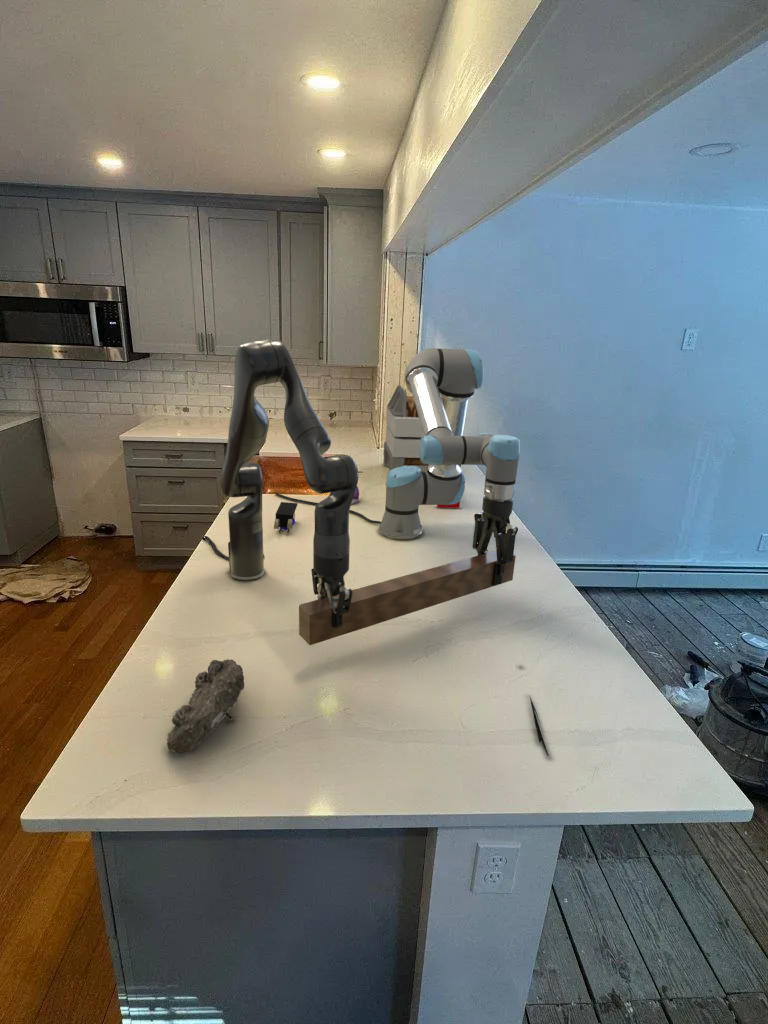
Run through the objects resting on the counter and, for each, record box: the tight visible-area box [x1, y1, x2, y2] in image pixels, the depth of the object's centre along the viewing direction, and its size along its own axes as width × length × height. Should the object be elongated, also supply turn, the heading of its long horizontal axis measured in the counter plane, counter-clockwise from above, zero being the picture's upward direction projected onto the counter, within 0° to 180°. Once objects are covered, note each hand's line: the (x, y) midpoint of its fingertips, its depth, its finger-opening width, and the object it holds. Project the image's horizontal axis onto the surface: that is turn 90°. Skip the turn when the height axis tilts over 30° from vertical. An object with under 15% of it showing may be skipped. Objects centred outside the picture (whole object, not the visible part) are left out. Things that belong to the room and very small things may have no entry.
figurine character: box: [273, 501, 298, 534], centre depth 199 cm, size 7×8×15 cm
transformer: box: [383, 384, 465, 471], centre depth 268 cm, size 34×33×41 cm
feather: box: [529, 696, 549, 756], centre depth 114 cm, size 2×28×2 cm
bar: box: [298, 550, 517, 646], centre depth 137 cm, size 61×5×7 cm, turn 125°
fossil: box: [166, 658, 245, 754], centre depth 106 cm, size 22×10×15 cm
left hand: (330, 620), depth 124 cm, fingers closed on bar, 5 cm apart
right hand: (488, 580), depth 151 cm, fingers closed on bar, 5 cm apart
